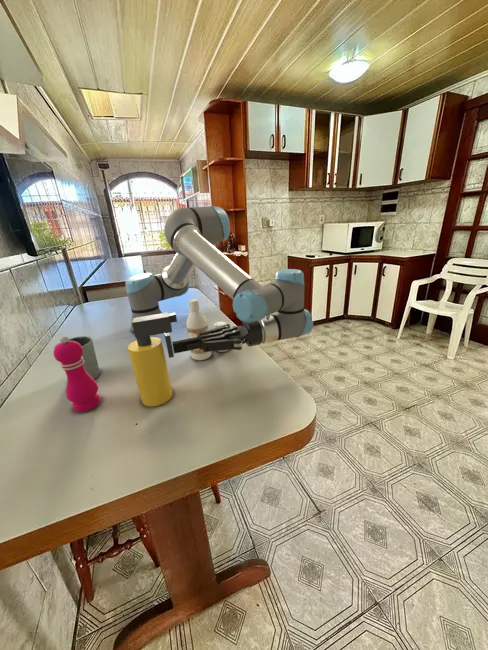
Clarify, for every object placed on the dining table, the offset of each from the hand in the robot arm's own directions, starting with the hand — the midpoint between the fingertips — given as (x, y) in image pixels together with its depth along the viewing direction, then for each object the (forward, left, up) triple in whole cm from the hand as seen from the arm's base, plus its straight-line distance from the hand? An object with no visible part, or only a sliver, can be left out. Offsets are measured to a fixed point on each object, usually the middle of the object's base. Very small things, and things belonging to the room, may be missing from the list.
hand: (173, 347), depth 69 cm
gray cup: (-20, -29, -14) cm, 37 cm away
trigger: (0, -1, -2) cm, 2 cm away
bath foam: (-18, +8, -14) cm, 24 cm away
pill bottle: (-20, +16, -14) cm, 29 cm away
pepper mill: (-4, -25, -14) cm, 28 cm away
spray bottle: (0, -4, -13) cm, 14 cm away
